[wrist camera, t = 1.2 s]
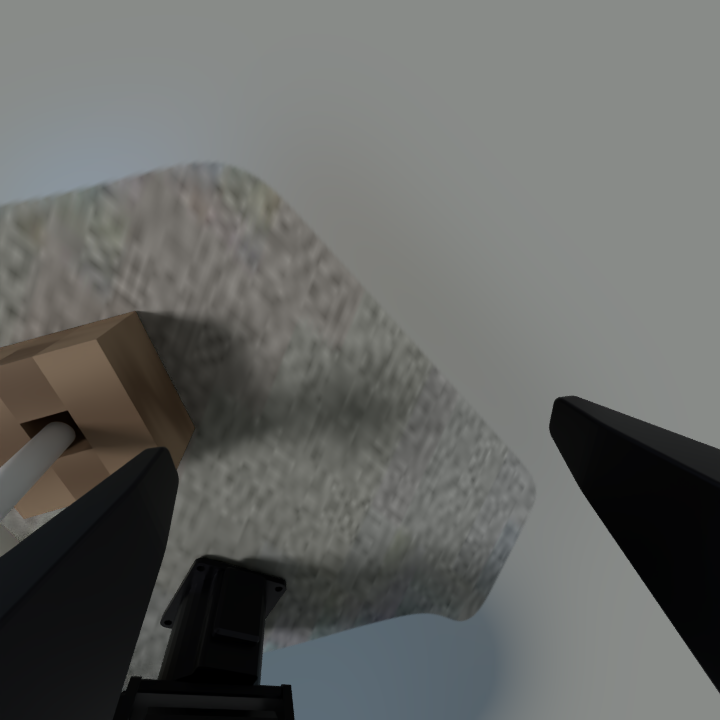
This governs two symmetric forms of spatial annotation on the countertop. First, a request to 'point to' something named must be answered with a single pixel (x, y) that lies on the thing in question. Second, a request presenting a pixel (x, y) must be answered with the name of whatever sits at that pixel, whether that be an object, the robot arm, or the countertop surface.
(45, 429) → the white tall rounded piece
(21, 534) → the countertop surface
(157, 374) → the block
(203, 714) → the robot arm
